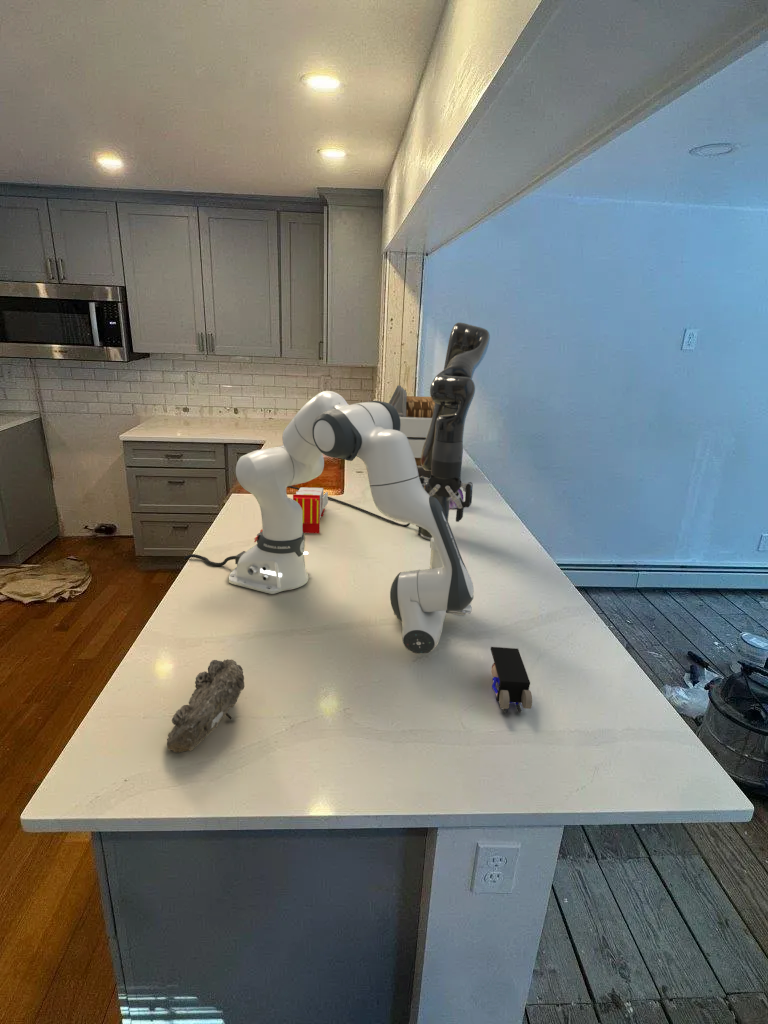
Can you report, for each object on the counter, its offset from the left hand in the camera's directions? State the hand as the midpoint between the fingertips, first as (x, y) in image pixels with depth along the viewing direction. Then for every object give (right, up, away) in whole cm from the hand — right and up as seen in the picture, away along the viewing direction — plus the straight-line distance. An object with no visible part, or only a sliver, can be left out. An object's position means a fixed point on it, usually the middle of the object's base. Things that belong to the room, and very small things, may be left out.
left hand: (435, 583), depth 152 cm
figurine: (+14, +22, +80) cm, 84 cm away
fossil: (-47, -20, -44) cm, 67 cm away
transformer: (+3, +38, +123) cm, 129 cm away
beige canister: (0, -5, +4) cm, 6 cm away
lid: (+1, +12, -2) cm, 12 cm away
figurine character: (+12, -19, -34) cm, 41 cm away
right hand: (+1, +18, -5) cm, 18 cm away
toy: (-41, +16, +57) cm, 72 cm away
